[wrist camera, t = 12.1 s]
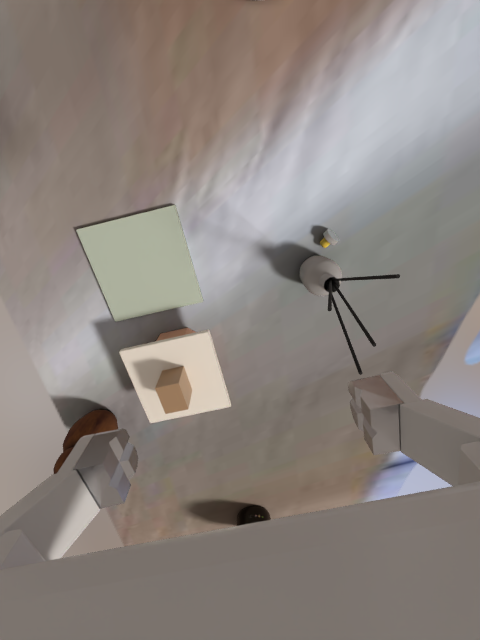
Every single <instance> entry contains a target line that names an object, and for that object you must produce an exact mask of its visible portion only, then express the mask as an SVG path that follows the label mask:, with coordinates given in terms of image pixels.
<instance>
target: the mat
mask: <svg viewBox="0 0 480 640" xmlns="http://www.w3.org/2000/svg"><path fill="white" fill-rule="evenodd" d="M76 231H77V233H78V236H79V238H80V240H81V243H82V245H83V247H84V250H85V252H86V254H87V257H88V259H89V261H90V264H91V266H92V268H93V271H94V273H95V275H96V278H97V280H98V282H99V285H100V287H101V289H102V292H103V294H104V297H105V299H106V301H107V304H108V306H109V308H110V311H111V313H112V315H113V318H114V320H115V322H117V321H122V320H126V319H130V318H135V317H139V316H143V315H148V314H152V313H156V312H161V311H165V310H169V309H174V308H178V307H183V306H187V305H191V304H196V303H200V302H203V298H202V294H201V291H200V288H199V284H198V281H197V277H196V274H195V270H194V267H193V264H192V260H191V257H190V253H189V250H188V247H187V243H186V240H185V236H184V233H183V230H182V226H181V223H180V219H179V216H178V212H177V209H176V206H175V205H172V206H168V207H164V208H160V209H156V210H153V211H149V212H145V213H141V214H137V215H133V216H129V217H125V218H121V219H117V220H113V221H109V222H105V223H101V224H97V225H93V226H89V227H85V228H81V229H77V230H76Z"/></svg>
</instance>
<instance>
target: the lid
mask: <svg viewBox="0 0 480 640" xmlns="http://www.w3.org/2000/svg"><path fill="white" fill-rule="evenodd" d="M119 353H120V355H121V358H122V360H123V362H124V364H125V367H126V369H127V371H128V374H129V376H130V378H131V380H132V383H133V385H134V387H135V389H136V392H137V394H138V396H139V399H140V401H141V403H142V405H143V408H144V410H145V412H146V414H147V417H148V419H149V421H150V423H154V422H159V421H164V420H169V419H173V418H178V417H183V416H188V415H193V414H198V413H202V412H207V411H212V410H217V409H222V408H227V407H231V402H230V398H229V395H228V392H227V388H226V385H225V382H224V378H223V375H222V371H221V368H220V365H219V361H218V358H217V355H216V351H215V348H214V344H213V341H212V338H211V334H210V331H209V330H204V331H200V332H195V333H191V334H186V335H182V336H177V337H173V338H168V339H164V340H159V341H155V342H150V343H146V344H142V345H137V346H133V347H128V348H124V349H121V350H120V351H119Z"/></svg>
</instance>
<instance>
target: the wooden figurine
mask: <svg viewBox="0 0 480 640" xmlns="http://www.w3.org/2000/svg"><path fill="white" fill-rule="evenodd" d="M117 429H118V425H117V419H116V417H115V415H114V414H113V413H111V412H110V411H107V410H94V411H92V412H90V413H88V414H86V415H85V416H84V417H82V418H81V419H79V420H78V421H77V422H76V423H75V424H74V425H73V426H72V427H71V429H70V430H69V432H68V434H67V436H66V438H65V440H64V443H63V453H62V454H61V455H60V457H59V458H58V460H57V462H56V464H55V467H54V474H57V472H58V471H59V469H60V468H61V466H62V465H63V463H64V462H65V460H66V459H67V457H68V456H69V454H70V453H71V451H72V450H73V448H74V447H75V445H76V444H77V442H78V441H79V439H80V438H81V437H83V436H86V435H91V434H97V433H101V432H106V431H112V430H117Z"/></svg>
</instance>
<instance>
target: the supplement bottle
mask: <svg viewBox="0 0 480 640" xmlns="http://www.w3.org/2000/svg"><path fill="white" fill-rule="evenodd" d="M267 520H271V518H270V514H269V512H268V511H267V510H266V509H264V508H263V507H260V506H249V507H246V508H244V509H243V510H241V511H240V513H239V514H238V516H237V526H239V525H245V524H250V523H256V522H261V521H267Z"/></svg>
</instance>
